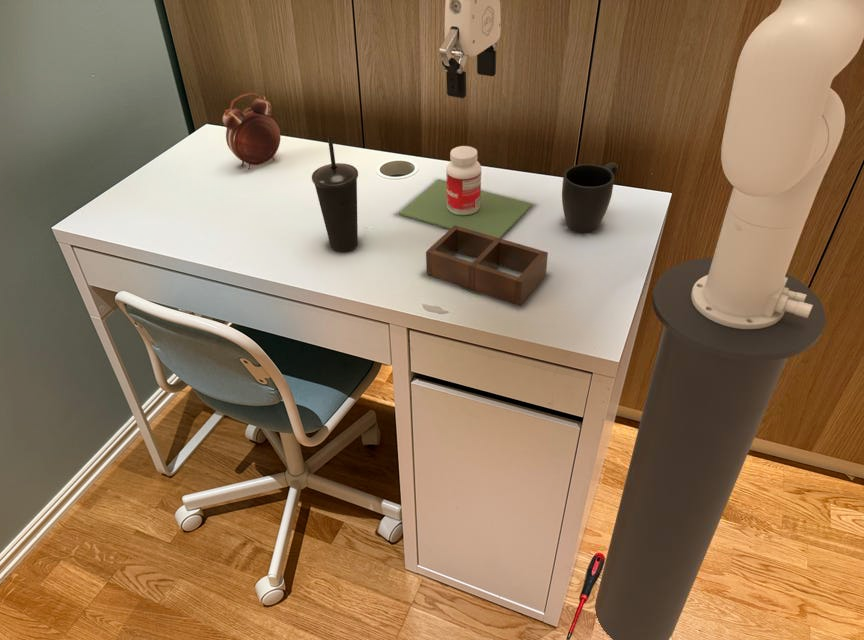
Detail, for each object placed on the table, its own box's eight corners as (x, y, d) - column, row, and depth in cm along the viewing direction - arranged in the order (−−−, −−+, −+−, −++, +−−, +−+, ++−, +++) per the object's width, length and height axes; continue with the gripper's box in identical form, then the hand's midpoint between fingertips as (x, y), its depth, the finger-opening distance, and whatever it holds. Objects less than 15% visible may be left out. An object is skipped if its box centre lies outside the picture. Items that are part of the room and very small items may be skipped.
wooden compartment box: (545, 275, 114) (548, 252, 111) (520, 305, 109) (521, 282, 106) (454, 247, 122) (454, 224, 119) (426, 274, 117) (425, 251, 114)
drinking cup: (349, 228, 129) (336, 122, 116) (374, 245, 125) (363, 137, 111) (314, 244, 126) (296, 137, 113) (338, 262, 122) (322, 153, 108)
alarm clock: (275, 152, 155) (262, 83, 144) (286, 159, 151) (273, 89, 141) (230, 168, 150) (213, 98, 140) (240, 176, 147) (224, 105, 137)
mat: (532, 205, 131) (532, 203, 130) (495, 243, 122) (495, 241, 122) (438, 181, 140) (438, 179, 139) (399, 214, 132) (399, 212, 131)
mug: (629, 215, 126) (638, 166, 119) (586, 243, 120) (594, 193, 114) (591, 199, 131) (597, 151, 124) (548, 225, 125) (553, 176, 119)
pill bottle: (442, 202, 133) (441, 147, 125) (473, 196, 134) (474, 141, 126) (452, 219, 128) (452, 163, 121) (485, 213, 129) (486, 156, 122)
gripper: (464, -14, 97) (465, 109, 109) (521, -45, 107) (517, 70, 119) (417, -18, 101) (423, 101, 112) (477, -48, 111) (477, 64, 122)
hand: (471, 85), depth 115 cm, fingers open, 9 cm apart
